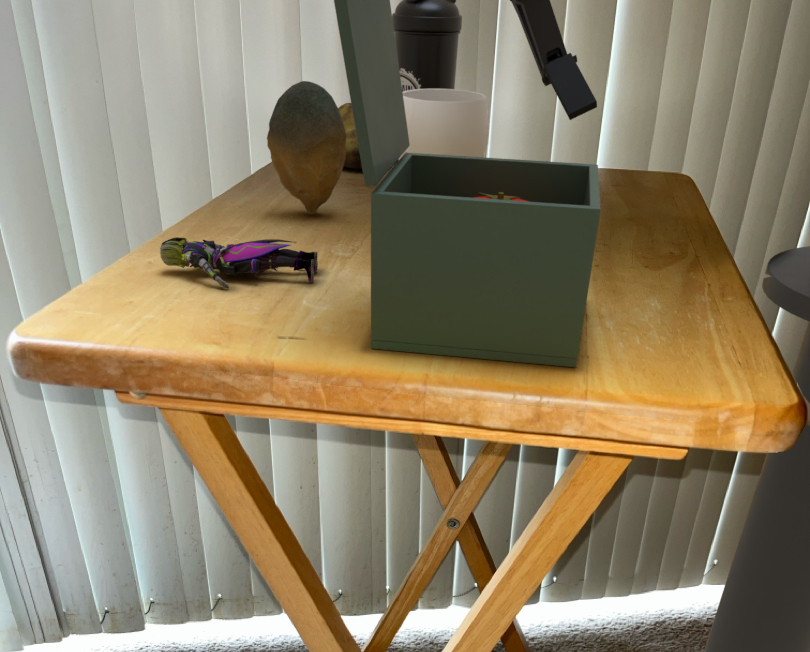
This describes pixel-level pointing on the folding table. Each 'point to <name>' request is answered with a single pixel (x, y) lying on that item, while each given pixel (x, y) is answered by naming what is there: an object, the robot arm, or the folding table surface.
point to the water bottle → (427, 43)
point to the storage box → (483, 257)
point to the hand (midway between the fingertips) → (577, 53)
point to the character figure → (236, 257)
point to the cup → (446, 122)
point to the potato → (350, 138)
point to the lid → (373, 84)
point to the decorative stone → (307, 143)
